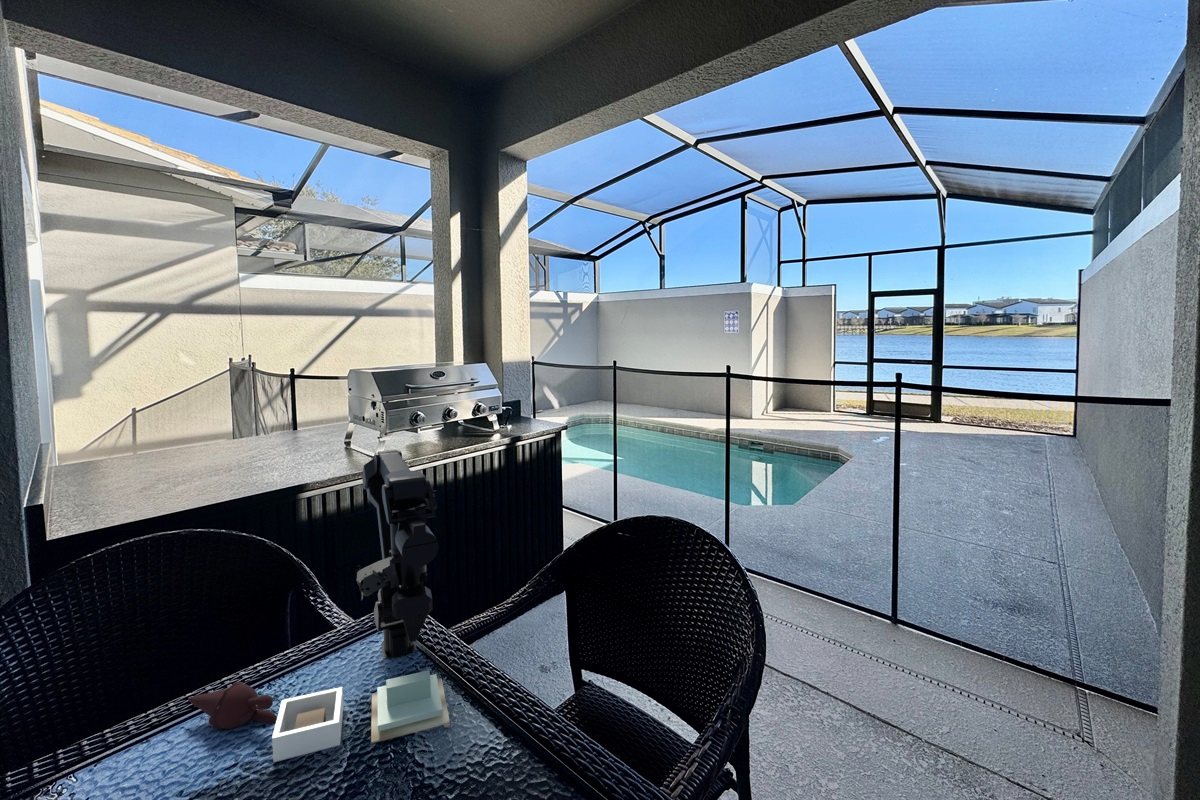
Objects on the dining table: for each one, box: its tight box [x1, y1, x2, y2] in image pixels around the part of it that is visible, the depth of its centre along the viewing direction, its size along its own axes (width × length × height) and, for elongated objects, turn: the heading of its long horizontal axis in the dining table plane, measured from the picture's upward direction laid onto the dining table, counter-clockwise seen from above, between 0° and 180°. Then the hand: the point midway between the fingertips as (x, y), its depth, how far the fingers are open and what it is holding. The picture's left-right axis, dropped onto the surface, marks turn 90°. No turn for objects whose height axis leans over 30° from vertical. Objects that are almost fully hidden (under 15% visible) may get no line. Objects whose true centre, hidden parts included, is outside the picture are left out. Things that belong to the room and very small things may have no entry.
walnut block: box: [295, 708, 326, 729], centre depth 85 cm, size 4×4×2 cm
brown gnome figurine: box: [188, 681, 278, 730], centre depth 88 cm, size 7×7×15 cm
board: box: [370, 678, 451, 745], centre depth 91 cm, size 12×12×1 cm
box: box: [271, 686, 344, 763], centre depth 85 cm, size 9×9×4 cm
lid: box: [376, 669, 443, 731], centre depth 91 cm, size 10×10×5 cm
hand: (411, 627), depth 96 cm, fingers open, 9 cm apart
